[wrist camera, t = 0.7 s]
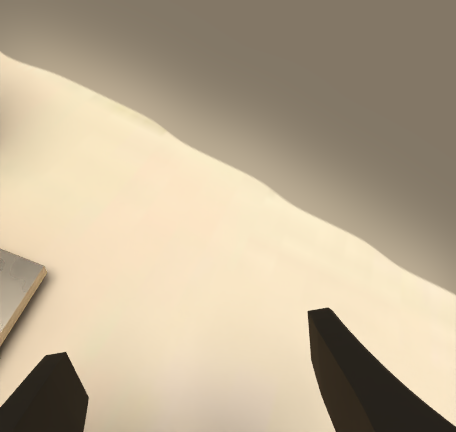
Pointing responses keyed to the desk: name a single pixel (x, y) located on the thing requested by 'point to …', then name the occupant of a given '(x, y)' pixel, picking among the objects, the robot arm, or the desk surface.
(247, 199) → the desk surface
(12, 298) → the square cutout plate
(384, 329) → the desk surface
